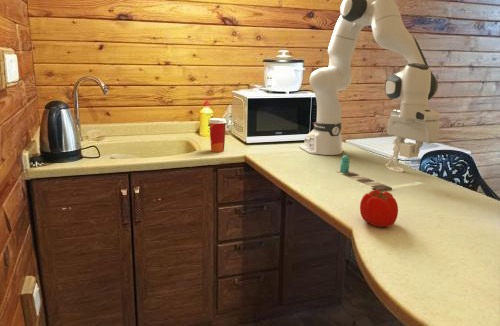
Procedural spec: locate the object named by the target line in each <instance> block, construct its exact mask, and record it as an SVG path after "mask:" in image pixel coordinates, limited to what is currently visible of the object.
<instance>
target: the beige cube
mask: <svg viewBox="0 0 500 326" xmlns="http://www.w3.org/2000/svg"><path fill="white" fill-rule="evenodd" d="M416 145H417V144H416V143H414V142H409V141H408V142H405V143H401V144H400V152H399V155H398V157H399V156H400V157H403V158H408V159H415V158H419V154H420V152H419V153H418V154H415V153H413V152H412V151H413V148H415V147H416Z"/></svg>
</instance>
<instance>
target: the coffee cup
mask: <svg viewBox="0 0 500 326" xmlns="http://www.w3.org/2000/svg"><path fill="white" fill-rule="evenodd" d="M226 123H227V120H226V118H222V117H221V118H220V117H213V118H209V121H208V124H209V140H210V151H211V152H212V153H222V152H224V151H225V141H226V140H225V139H226V125H227V124H226Z"/></svg>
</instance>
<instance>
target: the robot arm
mask: <svg viewBox="0 0 500 326" xmlns="http://www.w3.org/2000/svg"><path fill="white" fill-rule="evenodd" d="M339 10H340V11H339V13H340V16H339V18H338V19H337V22H336V24H335V26H334V29H333V32H332V35H331V38H330V42H329V44H328V48H327V54H328V56H329V60H328V61H329V62H328V67H320V68H318V69H316V70H314V71H313V72H311V74H310V76H309V79H308V81H309V86H310V88H311V89H312V90H313V92H314V95H315V96H314V97H315V99H316V120H315V122H312V124H313V129H312V130H311V131H310V132H308V133H307V134H306V135H305V138H304V143H302V144H299V146H298V148H300V149H301V150H303V151H304V152H306V153H308V154H312V155H322V156H325V155H326V156H335V155H341V154H343V151H344V148H343V140H342V139H343V136H342V135H343V134H342V133H341V130H342V122H341V121H342V111H343V109H342V108H343V107H342V104H341V102H340V101H339V95H338V92H342V91H344V90H346V89H348V88H349V87H350V86H351V84H352V82H353V77H352V73H351V68H352V59H353V55H354V52H355V49H356V46H357V44H358V40H359V37H360V35H361V31H362V30H363V28H365V27H368V28H369V29H371V32H372V35H373V38H374V40H375V43H376V44H377V45H378V46H379V47H381V48H383V49H385V50H388V51H392V52H394V53H397V54H399V55H401V56H402V57H404V58H405V59H406V61H407V63H408V64H406V66H405V67H404V68H403V69H402V70H400V71H398V72H395V73H392V74H390V75H389V76H388V77H387V78H386V81H385V83H384V93H385V95H386V96H387V97H388V98H389V99H390V100H393V101H400V105H399V106H400V107H399V108H400V109H393V110H392V111H391V112H390V115H389V118H388V123H387V130H386V132H387V135H390V136H393V137H395V136H397V137H398V141H399V143H400V144H401V143H406V142H405V141H406V139H407V140H411V141H415V144H417V145H416V147H415V148H413V151H412V152H413V153H415V154H418V153H419V154H420V151H421V150H420V149H421V148H422V146H423V145H424V143H425V144H436V143H437V142H438V141H439V140H440V139H439V137H440V131H441V129H440V126H441V125H440V123H439V120H440V118H441V114H440V113H439V112H437V111H436V110H434V109H432V108H430V107H429V101H430V100H431V99H432V98H433V97H434V96H435V95H436V93H437V91H438V89H439V83H438V80H437V78H436V77H435V75H434V74H433V72H432V70H431V67H430V66H429V65H428V63H427V60H426V58H425V56H424V54H423V51H422V49H421V46H420V44H419V43H418V41H417V39H416V37H414V36H413V35H412V34H411V33H410V32H409V30H408V29H407V28H406V27H405V25H404V22H403V19H402V15H401V13H400V9H399V7H398V5H397V3H396V2H395V0H342V1H341V3H340V7H339ZM419 154H418V155H419Z"/></svg>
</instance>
